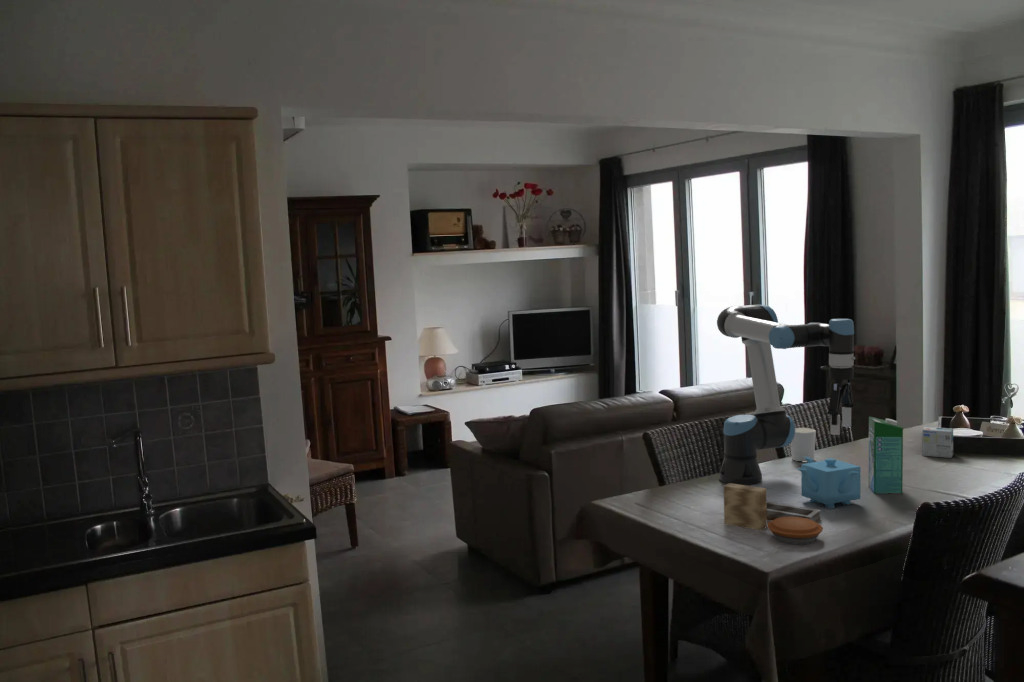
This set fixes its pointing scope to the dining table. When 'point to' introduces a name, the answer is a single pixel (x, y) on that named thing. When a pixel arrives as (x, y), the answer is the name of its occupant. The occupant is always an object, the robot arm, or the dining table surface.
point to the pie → (795, 530)
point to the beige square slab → (745, 506)
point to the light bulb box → (937, 442)
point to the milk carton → (885, 456)
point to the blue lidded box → (830, 481)
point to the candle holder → (803, 444)
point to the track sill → (791, 512)
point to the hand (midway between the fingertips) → (841, 430)
